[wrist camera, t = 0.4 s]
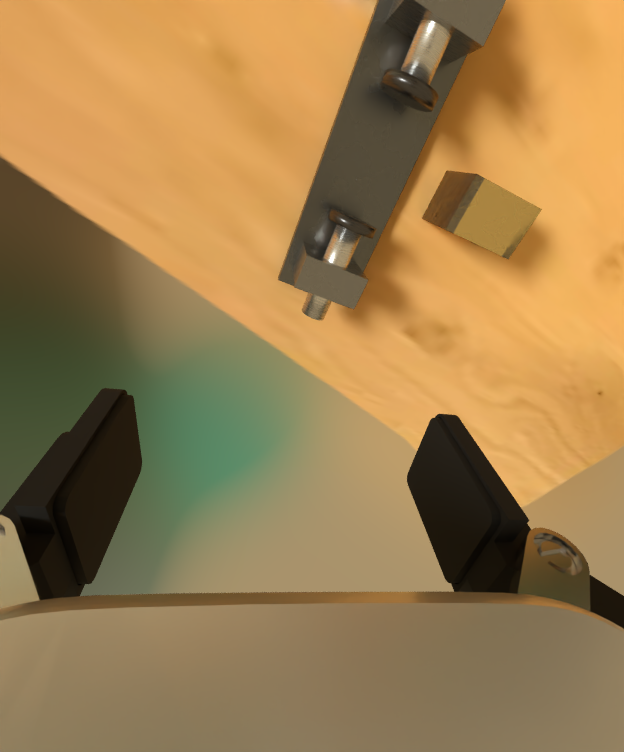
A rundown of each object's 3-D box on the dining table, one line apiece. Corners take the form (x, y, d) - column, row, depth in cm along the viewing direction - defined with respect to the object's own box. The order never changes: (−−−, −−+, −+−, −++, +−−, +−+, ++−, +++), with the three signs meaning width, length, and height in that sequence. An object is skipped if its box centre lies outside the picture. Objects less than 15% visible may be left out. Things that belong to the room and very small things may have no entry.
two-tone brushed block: (421, 218, 35) (445, 229, 30) (446, 170, 33) (476, 174, 28) (477, 244, 37) (508, 259, 32) (504, 201, 35) (541, 209, 30)
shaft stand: (406, -81, 25) (444, -150, 19) (495, -15, 27) (553, -60, 21) (275, 285, 38) (274, 309, 32) (342, 310, 40) (352, 336, 34)
